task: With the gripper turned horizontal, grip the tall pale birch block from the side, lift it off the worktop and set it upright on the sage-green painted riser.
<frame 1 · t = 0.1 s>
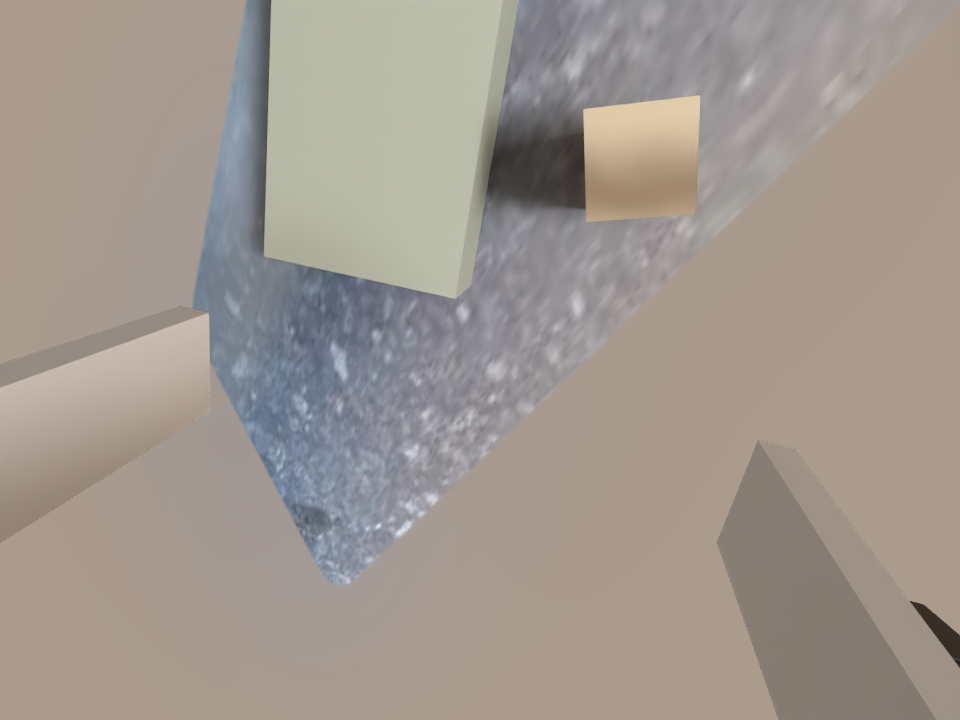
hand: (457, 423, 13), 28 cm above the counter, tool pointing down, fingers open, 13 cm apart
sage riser: (398, 127, 38), on the counter
birch block: (625, 167, 36), on the counter
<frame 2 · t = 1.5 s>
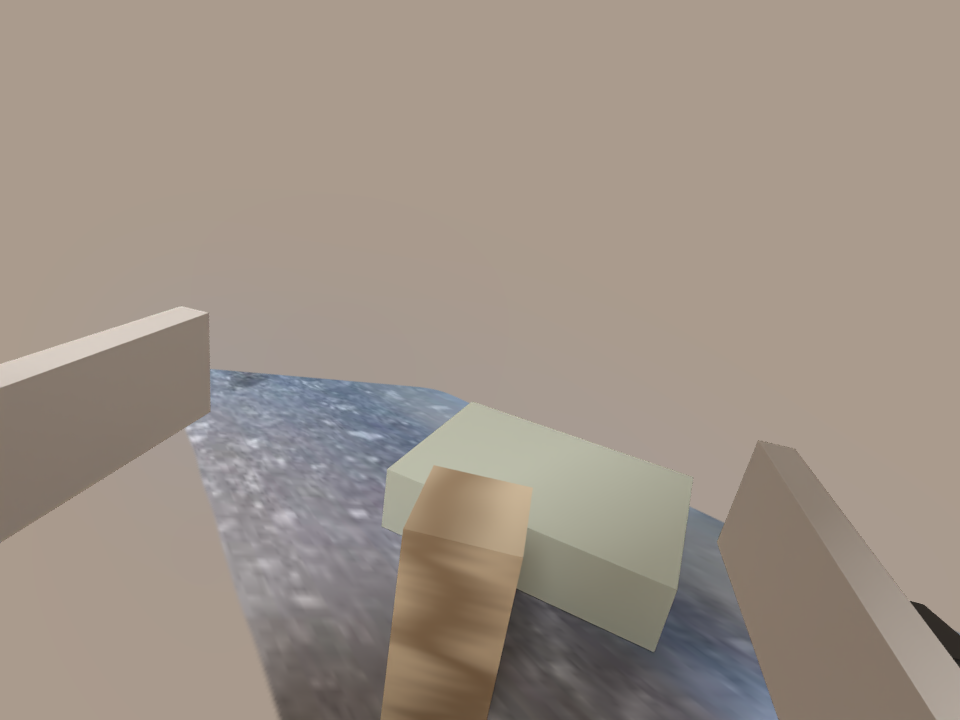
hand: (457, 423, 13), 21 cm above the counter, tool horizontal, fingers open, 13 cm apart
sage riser: (538, 526, 42), on the counter
birch block: (441, 692, 28), on the counter
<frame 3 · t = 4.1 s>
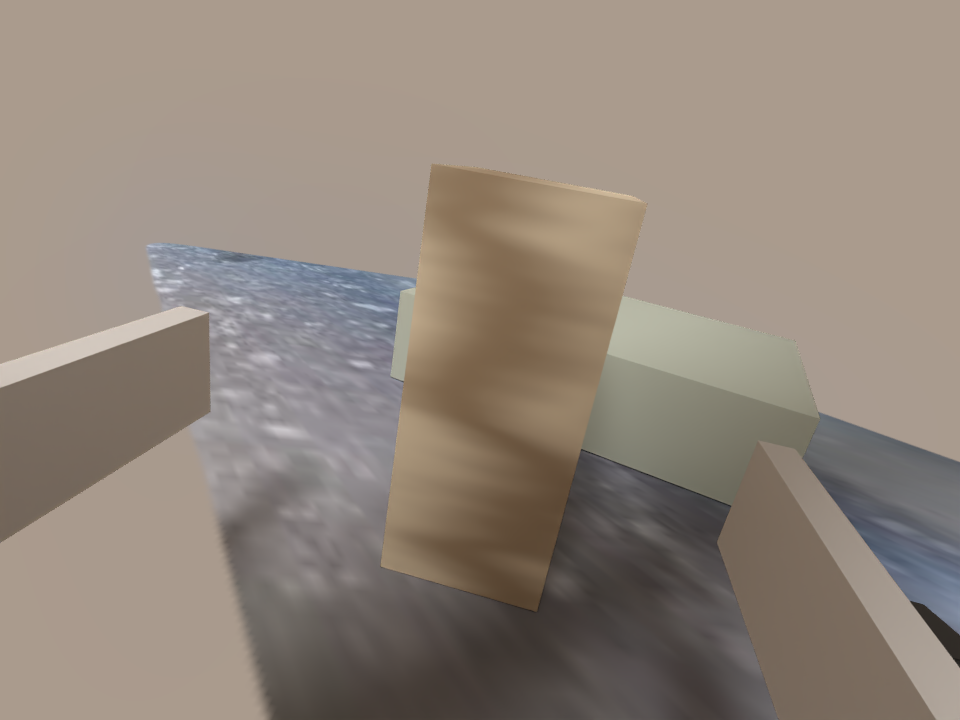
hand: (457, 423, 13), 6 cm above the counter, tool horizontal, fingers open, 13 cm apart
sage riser: (592, 395, 32), on the counter
birch block: (474, 537, 19), on the counter
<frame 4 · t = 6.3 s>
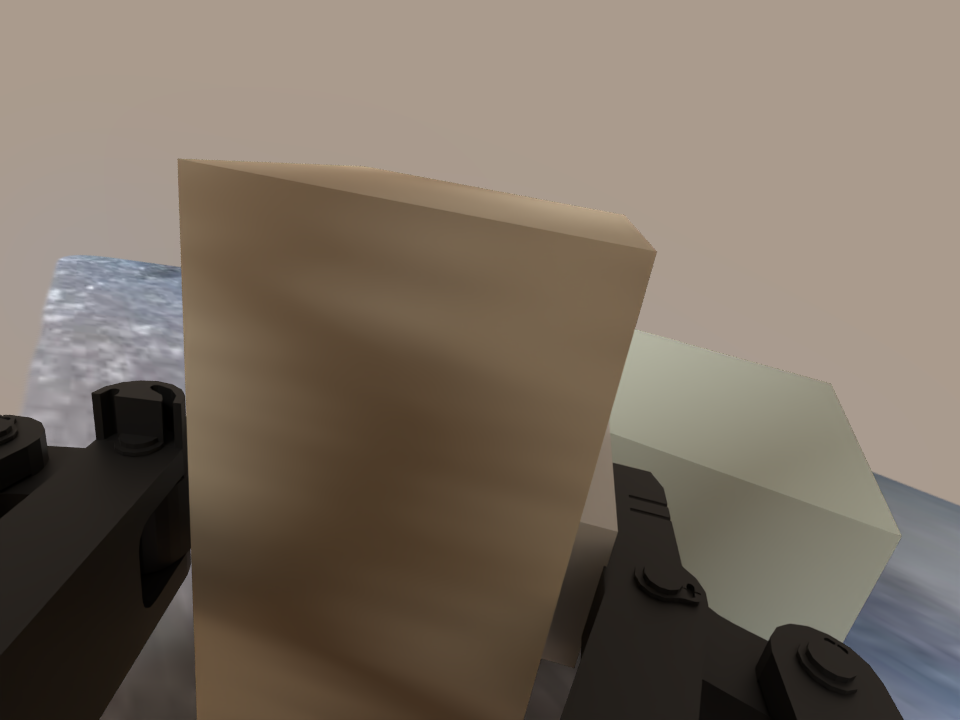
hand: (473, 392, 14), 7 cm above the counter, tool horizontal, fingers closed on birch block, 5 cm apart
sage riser: (577, 455, 26), on the counter
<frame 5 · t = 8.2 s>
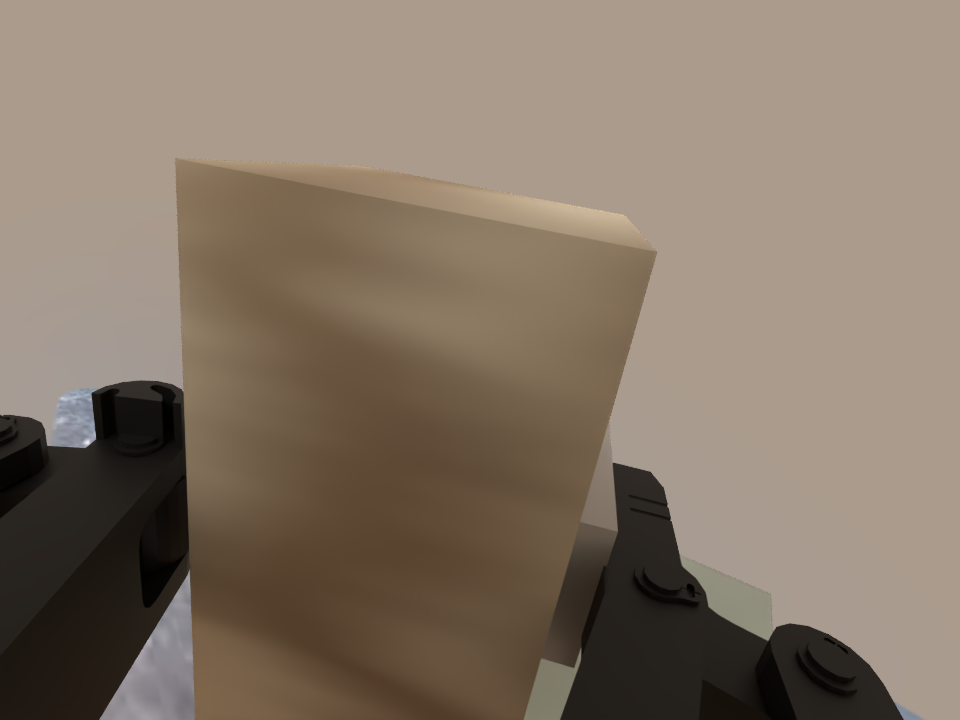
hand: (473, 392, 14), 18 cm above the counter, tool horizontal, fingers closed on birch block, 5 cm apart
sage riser: (530, 662, 27), on the counter
when the fingers open (13 cm above the counter, at t = 10.4 s): birch block drops 1 cm, resting on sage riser.
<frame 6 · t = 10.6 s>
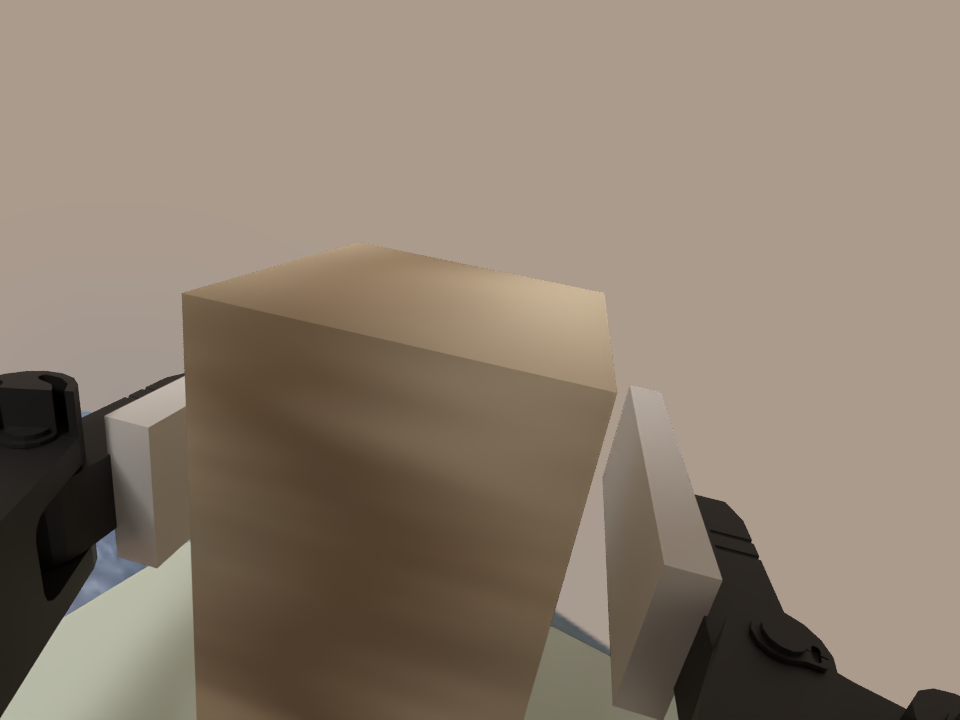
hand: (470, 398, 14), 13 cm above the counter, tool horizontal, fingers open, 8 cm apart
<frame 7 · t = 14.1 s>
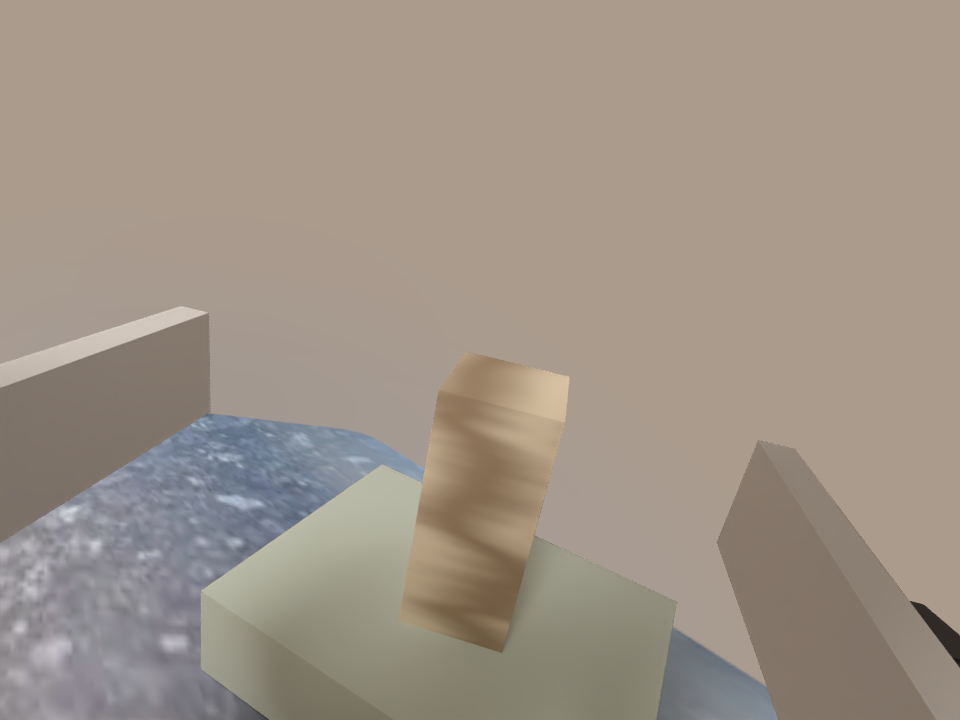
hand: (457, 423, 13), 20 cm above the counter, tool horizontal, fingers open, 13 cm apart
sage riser: (445, 667, 29), on the counter
birch block: (461, 597, 27), point 5 cm above the counter, touching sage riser
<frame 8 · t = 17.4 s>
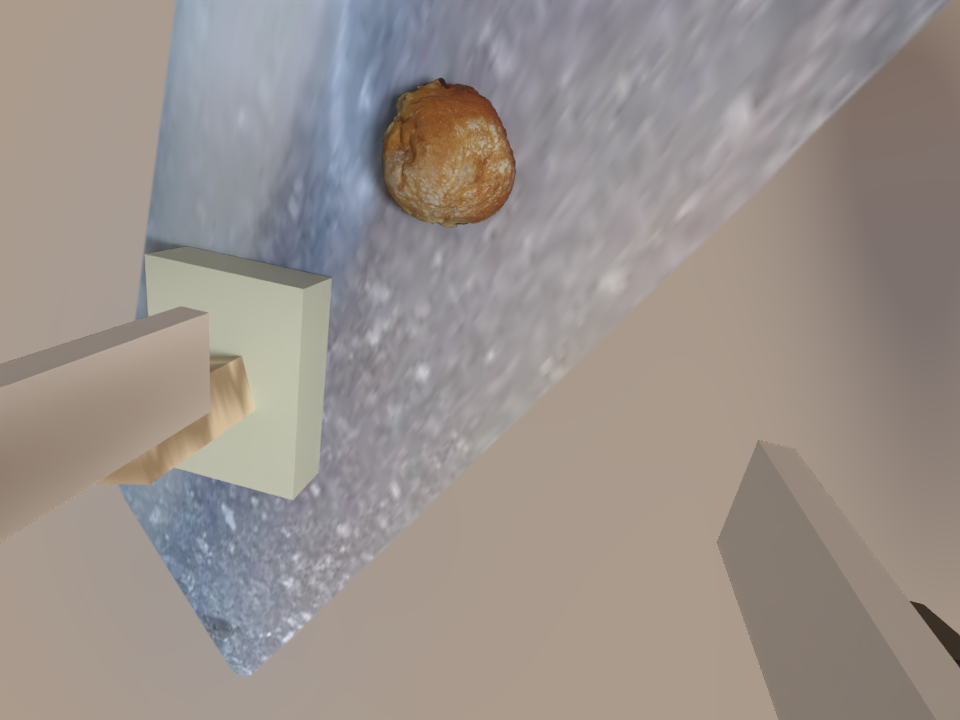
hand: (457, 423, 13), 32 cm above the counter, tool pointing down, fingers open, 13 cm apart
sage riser: (256, 365, 51), on the counter
birch block: (223, 384, 46), point 5 cm above the counter, touching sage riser
bread roll: (453, 157, 41), on the counter
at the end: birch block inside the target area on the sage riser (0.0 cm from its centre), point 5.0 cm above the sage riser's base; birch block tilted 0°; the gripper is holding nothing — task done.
